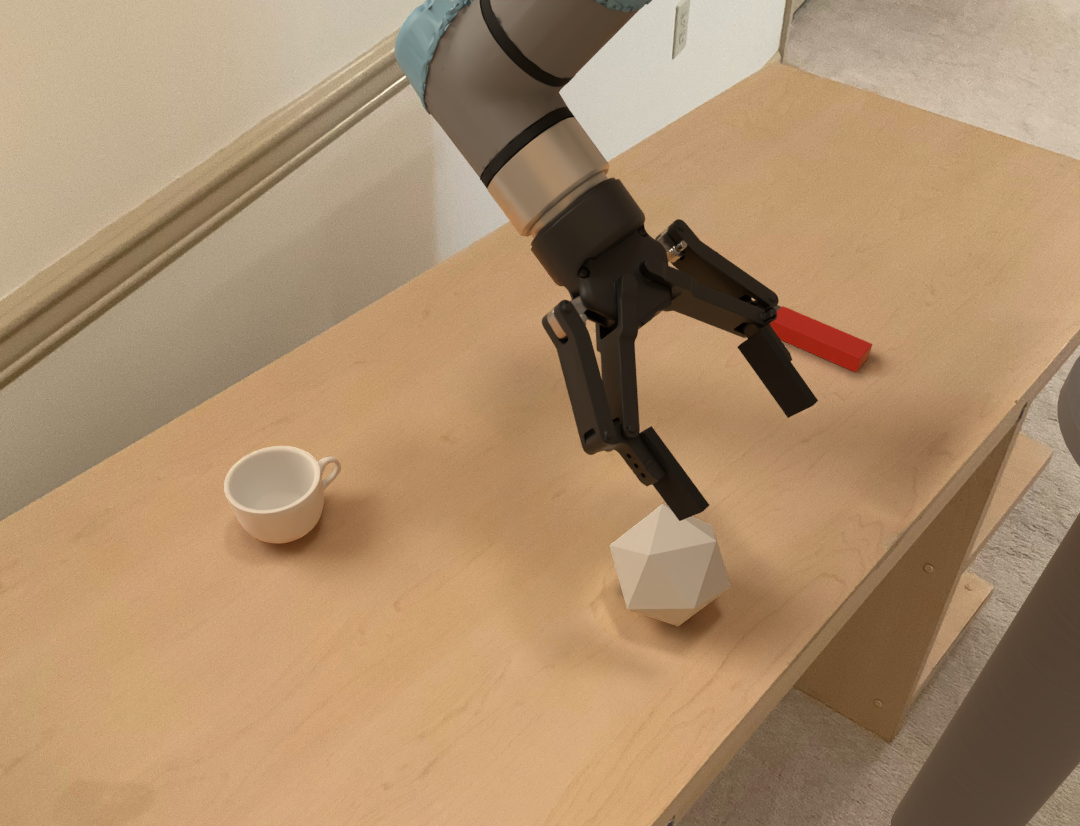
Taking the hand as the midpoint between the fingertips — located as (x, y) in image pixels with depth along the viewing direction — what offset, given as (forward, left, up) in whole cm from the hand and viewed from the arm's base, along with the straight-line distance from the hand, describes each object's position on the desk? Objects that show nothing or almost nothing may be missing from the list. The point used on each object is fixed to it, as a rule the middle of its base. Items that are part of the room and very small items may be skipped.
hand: (751, 459), depth 71 cm
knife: (+17, -32, -15) cm, 40 cm away
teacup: (+33, +16, -15) cm, 40 cm away
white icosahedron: (+3, +4, -15) cm, 16 cm away
